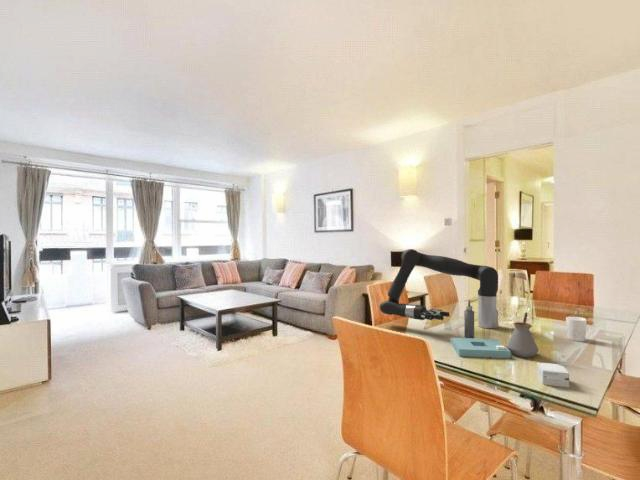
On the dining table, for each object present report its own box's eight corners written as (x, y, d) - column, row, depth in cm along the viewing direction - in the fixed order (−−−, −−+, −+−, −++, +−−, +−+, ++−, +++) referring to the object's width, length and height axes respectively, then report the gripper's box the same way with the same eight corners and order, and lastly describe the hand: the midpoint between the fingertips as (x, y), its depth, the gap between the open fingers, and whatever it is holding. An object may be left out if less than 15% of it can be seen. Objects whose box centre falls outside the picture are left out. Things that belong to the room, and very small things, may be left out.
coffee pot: (537, 361, 134) (536, 324, 134) (504, 355, 141) (504, 320, 141) (541, 346, 151) (541, 313, 151) (512, 342, 158) (512, 310, 158)
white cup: (582, 337, 163) (582, 317, 163) (589, 342, 155) (589, 321, 155) (563, 336, 165) (563, 316, 165) (569, 341, 158) (569, 320, 158)
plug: (473, 338, 164) (472, 299, 163) (475, 341, 159) (475, 301, 159) (463, 338, 165) (463, 299, 164) (465, 341, 160) (465, 300, 160)
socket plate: (496, 345, 153) (496, 336, 153) (510, 358, 138) (510, 348, 138) (450, 343, 157) (450, 335, 157) (459, 356, 141) (459, 346, 141)
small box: (542, 385, 114) (542, 370, 114) (536, 375, 121) (536, 361, 121) (569, 388, 111) (569, 373, 111) (562, 378, 118) (562, 364, 118)
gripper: (409, 307, 174) (441, 311, 163) (421, 302, 185) (451, 306, 174) (410, 321, 174) (441, 326, 163) (421, 316, 185) (451, 320, 174)
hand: (446, 316), depth 169 cm, fingers open, 8 cm apart
